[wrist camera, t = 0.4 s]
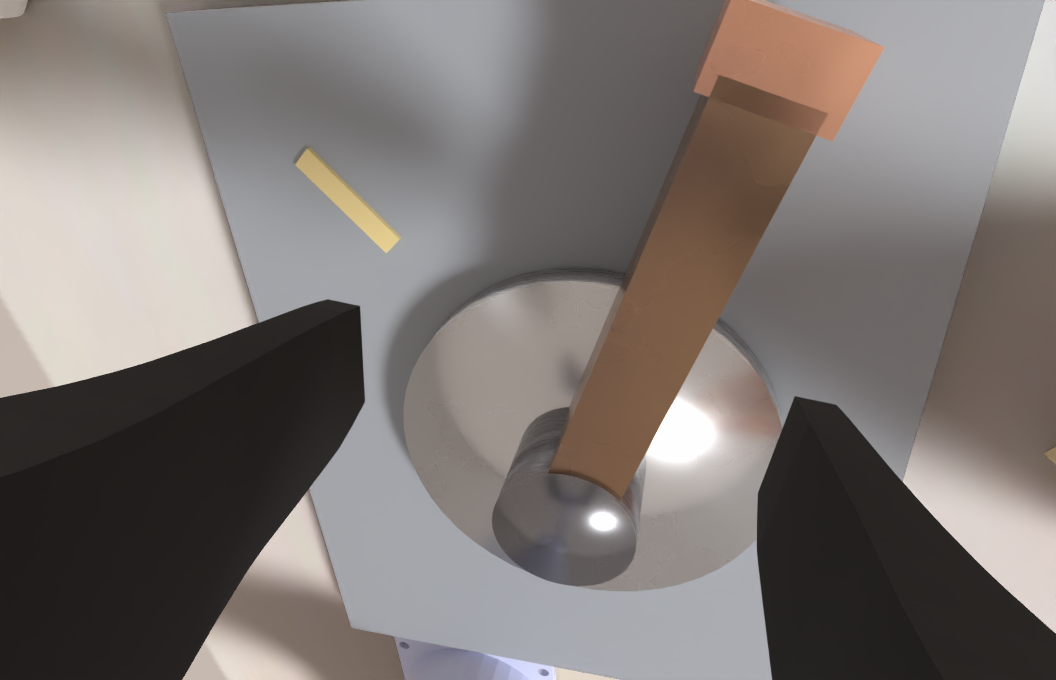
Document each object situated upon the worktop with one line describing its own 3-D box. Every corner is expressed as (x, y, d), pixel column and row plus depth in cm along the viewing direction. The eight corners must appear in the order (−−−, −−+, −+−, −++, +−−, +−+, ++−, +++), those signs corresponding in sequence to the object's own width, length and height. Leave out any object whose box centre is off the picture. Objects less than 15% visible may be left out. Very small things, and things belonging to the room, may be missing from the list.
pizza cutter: (686, 608, 24) (681, 724, 21) (391, 489, 25) (336, 581, 21) (1052, 98, 14) (1176, 149, 10) (528, -84, 14) (466, -99, 11)
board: (826, 684, 27) (832, 723, 25) (365, 601, 32) (349, 631, 30) (1026, -43, 14) (1060, -43, 13) (201, 9, 19) (161, 13, 18)
